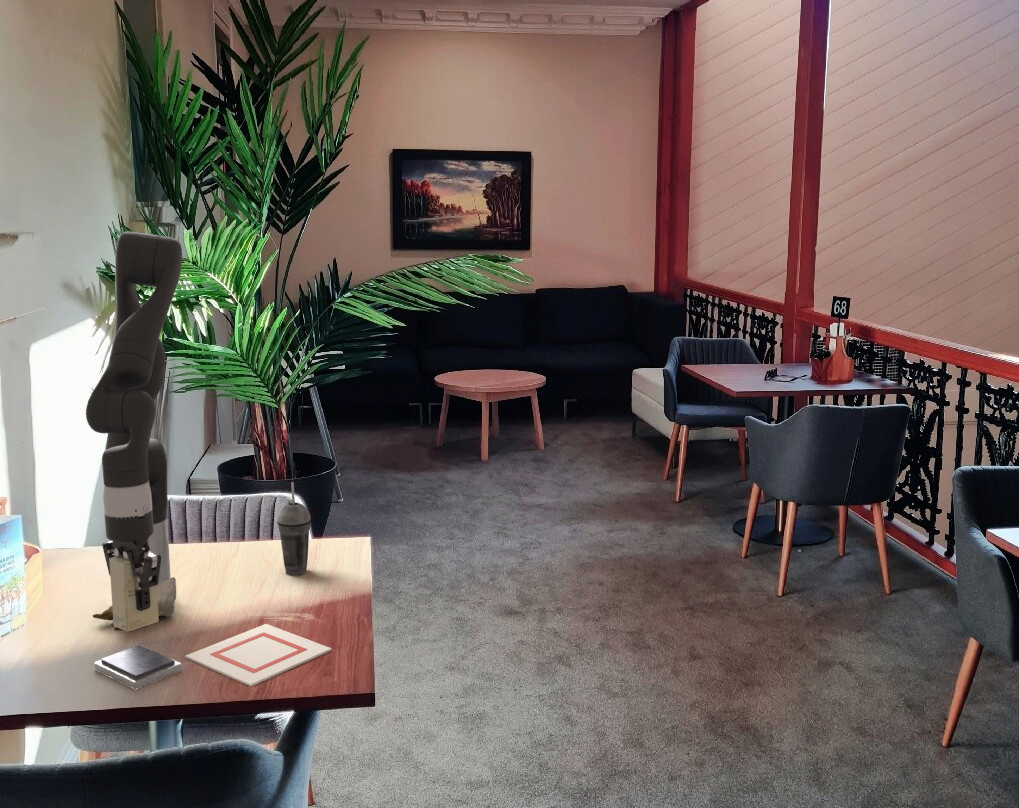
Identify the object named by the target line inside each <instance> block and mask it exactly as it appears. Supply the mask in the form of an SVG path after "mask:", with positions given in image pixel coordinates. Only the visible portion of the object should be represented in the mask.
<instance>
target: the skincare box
mask: <svg viewBox="0 0 1019 808" xmlns="http://www.w3.org/2000/svg"><path fill="white" fill-rule="evenodd" d="M152 554H153V553H152ZM153 555H155V554H153ZM109 563H110V575H109V577H110V588H111V603H112V604H111V606H112V608H113V620H112V622H113V627H114V628H115V627H117V628H120V629H122V630H125V631H124V632H131V631H134V630H139V629H141V628H143V627H146V626H149V625H152V624H155V623H158V622H159V620H160V619H159V616H158V601H157V585H156V586H153V587H150V608H149V609H146V610H143V611H139V610H137V608H136V595H135V590H136V588H135V584H134V578H133V577H131V573H130V571H131V570H130V561H125V560H124V557H120V558H117V557H112V558H109ZM135 570H136V571H140V570H143V567H140V568H137V569H136V568H135ZM151 579H152V576H151ZM141 581H142V575H140V582H141Z"/></svg>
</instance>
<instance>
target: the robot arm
mask: <svg viewBox="0 0 1019 808" xmlns="http://www.w3.org/2000/svg"><path fill="white" fill-rule="evenodd" d="M116 242H117V243H116V247H115V248H116V249H115V259H114V261H115V263H114V271H115V272H114V273H115V275H114V280H115V324H114V327H115V328H114V338H113V341H112V346H111V349H110V354H109V355H110V356H109V359H108V364H107V367H106V369H105V370H104V372H103V374H102V376H101V378H100V379H99V381H98V383H96V386H95V388H94V389H93V390H92V393H91V394H90V396H89V398H88V401H87V404H86V409H85V417H86V422H87V424H88V426H89V427H90V428H91V429H92V430H93V431H94V432H96V433H99V434H107V437H106V438H107V439H106V445H105V451H104V452H103V453H102V455H101V456H102V457H101V462H102V463H101V465H102V466H101V467H102V477H103V497H102V502H103V515H104V527H105V538H107V539H108V540H109V541H107V542H103V543H102V550H103V554H104V558H105V559H104V560H105V563H106V567H107V570H108V571H107V572H108V574H109V576H110V563H109V558H112V557H117V558H120V557H124V560H125V561H130V570H131V571H130V573H131V577H133V578H134V584H135V588H136V590H135V595H136V608H137V610H139V611H143V610H146V609H149V608H150V587H153V586H156V585H158V584H159V583H161V582H162V581H165V580H168V579H171V578H172V577H171V561H170V545H169V532H168V527H169V526H168V517H167V516H168V515H167V514H168V513H167V512H168V511H167V510H168V501H169V500H168V462H167V461H168V460H167V453H166V451H165V447H164V446H163V444H162V442H160V440H159V439H157V438H151V434H152V430H153V426H154V424H155V423H154V422H155V418H156V404H155V400H156V398H157V397H158V396H159V394H160V392H161V390H162V388H163V385H164V380H165V366H166V365H165V364H166V350H165V347H164V346H163V343H162V340H161V338H160V335H161V332H162V330H163V326H164V324H165V321H166V320H167V319H166V318H167V316H168V313H169V311H170V310H169V309H170V307H171V304H172V301H173V298H174V295H175V293H176V290H177V286H178V284H179V279H180V276H181V272H182V265H183V249H182V245H181V243H180V241H179V240H178V239H176V238H174V237H171V236H170V237H169V236H166V235H158V234H150V233H144V232H135V231H123V232H122V233H121V234H120V235H119V237H118V240H117V241H116ZM136 285H139V286H147V287H155V288H154V290H153V293H152V294H151V295H150V297H149V298H147V300H145V302H144V303H143V304H142V305H141V303H140V300H139V296H138V292H137V287H136ZM152 553H153V554H155V555H153V554H152ZM140 567H143V570H140V571H136V570H135V568H136V569H137V568H140ZM140 575H142V581H141V582H140ZM151 576H152V579H151Z"/></svg>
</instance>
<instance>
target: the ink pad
mask: <svg viewBox="0 0 1019 808" xmlns="http://www.w3.org/2000/svg"><path fill="white" fill-rule="evenodd" d="M93 666H94V670H95V669H96V670H98V671H100V672H102V673H104V674H106V675H108V676H111V677H112V678H114V679H116V680H118V681H120V682H122V683H124V684H126V685H128V686H130V687H133V688H134V689H136V688H139V687H141V686H144V685H146V684H149V683H151V682H154V681H156V682H158V681H157V680H159V681H161V680H163V678H164V679H166V678H168V677H171V676H174V675H176V674H178V673H180V672H182V671H183V669H182V668H183V666H182V662H179V661H177V660H175V659H174V658H173V659H172V658H170V657H168V656H167V655H163V654H161V653H159V652H157V651H155V650H152V649H150V648H148V647H145V646H143V645H141V644H137V645H135V646H133V647H130V648H126V649H124V650H122V651H119V652H116V653H114V654H111V655H108V656H106V657H103V658H100V660H97V661H95V662H94V665H93ZM100 672H99V673H100ZM102 673H101V674H102ZM104 674H103V675H104ZM106 675H105V676H106ZM108 676H107V677H108ZM165 677H166V678H165ZM112 678H111V679H112ZM114 679H113V680H114ZM160 679H161V680H160ZM116 680H115V681H116ZM118 681H117V682H118ZM120 682H119V683H120ZM122 683H121V684H122ZM154 683H155V682H154ZM124 684H123V685H124ZM151 684H152V683H151ZM126 685H125V686H126ZM149 685H150V684H149ZM128 686H127V687H128ZM146 686H147V685H146ZM130 687H129V688H130ZM144 687H145V686H144ZM141 688H142V687H141ZM134 689H133V690H134ZM139 689H140V688H139Z"/></svg>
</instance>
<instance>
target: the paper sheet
mask: <svg viewBox="0 0 1019 808" xmlns="http://www.w3.org/2000/svg"><path fill="white" fill-rule="evenodd" d="M331 651H332V648H331V647H329V646H326V645H323V644H322V643H321V644H320V643H318V642H316V641H313V640H310V639H307V638H305V637H302V636H300V635H298V634H294V633H292V632H289V631H286V630H284V629H281V628H279V627H276V626H273V625H271V624H268V623H264V624H262V625H259V626H256V627H254V628H252V629H250V630H247V631H245V632H242V633H239V634H237V635H234V636H231V637H229V638H227V639H224V640H221V641H219V642H217V643H214V644H211V645H209V646H207V647H204V648H201V649H199V650H196V651H194V652H192V653H189V654H186V655H184V657H185V659H187V660H190V661H191V662H193V663H196V664H198V665H200V666H202V667H205V668H207V669H209V670H212V671H214V672H217V673H219V674H221V675H223V676H225V677H228V678H230V679H232V680H234V681H237V682H240V683H242V684H244V685H245V686H249V687H253V686H255V685H256V686H257V685H258V684H260V683H262V682H265V681H267V680H269V679H271V678H274V677H276V676H277V675H280V674H282V673H284V672H287V671H289V670H291V669H293V668H295V667H298V666H300V665H302V664H304V663H307V662H309V661H311V660H313V659H315V658H316V659H317V658H318V657H320V656H322V655H325V654H327V653H329V652H331Z"/></svg>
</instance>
